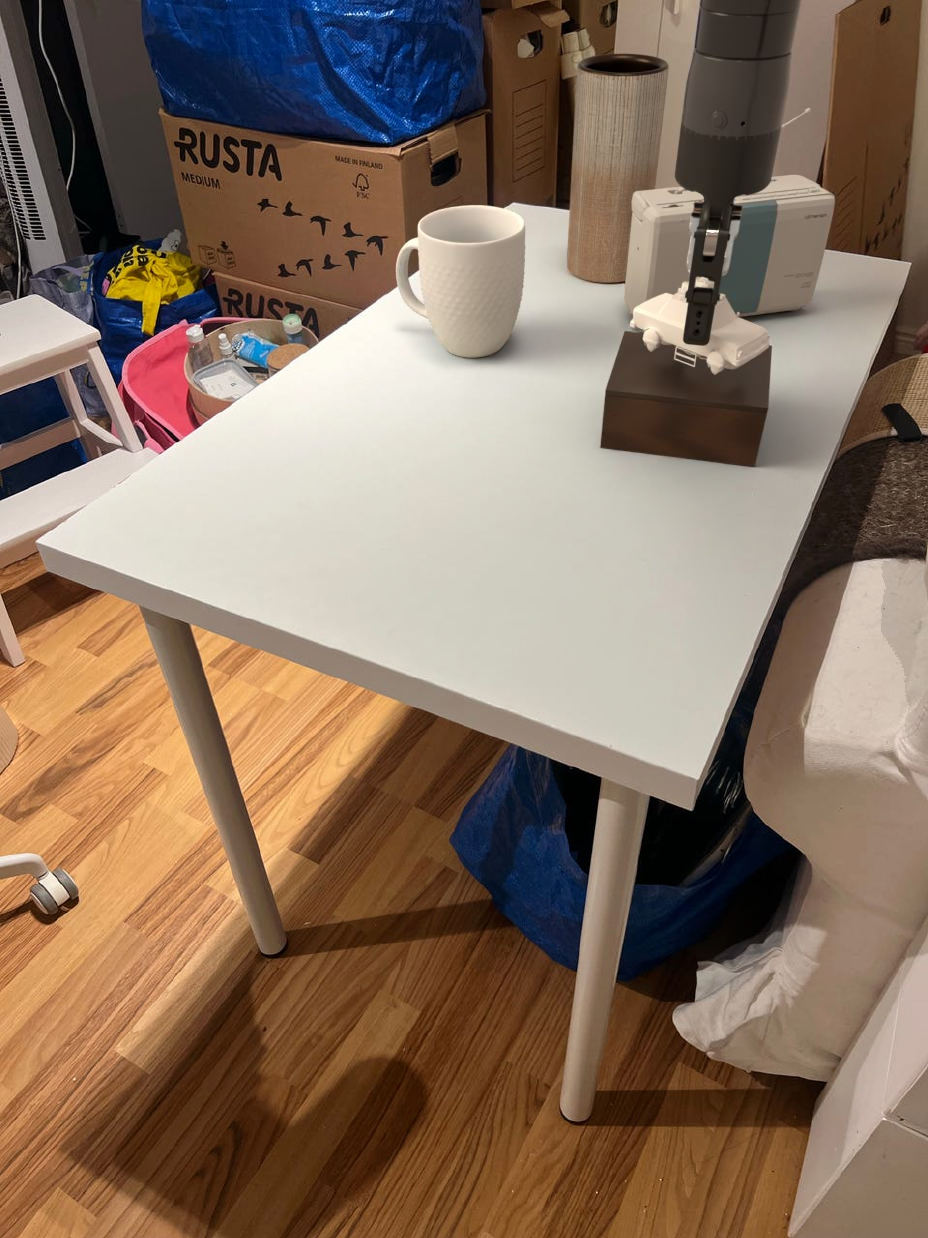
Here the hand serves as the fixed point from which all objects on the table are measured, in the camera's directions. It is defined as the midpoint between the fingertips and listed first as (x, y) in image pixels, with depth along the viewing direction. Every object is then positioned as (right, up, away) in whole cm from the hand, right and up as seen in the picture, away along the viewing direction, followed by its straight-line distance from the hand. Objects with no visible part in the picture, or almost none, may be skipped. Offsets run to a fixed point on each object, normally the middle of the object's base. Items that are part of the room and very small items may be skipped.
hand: (699, 323), depth 81 cm
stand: (0, -7, +7) cm, 10 cm away
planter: (-3, +18, +35) cm, 40 cm away
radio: (+8, +9, +25) cm, 28 cm away
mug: (-21, +4, +21) cm, 30 cm away
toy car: (0, -2, +2) cm, 3 cm away
